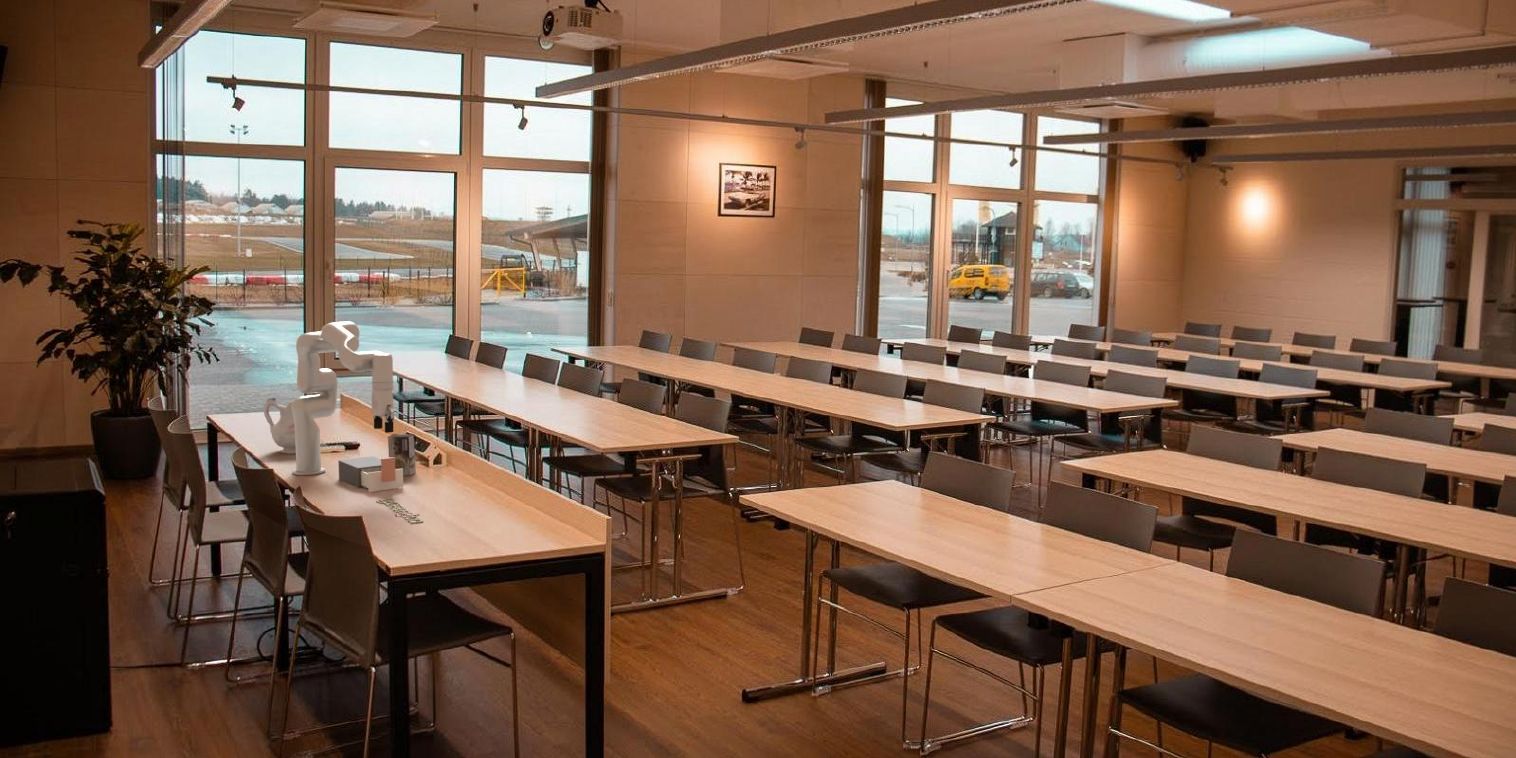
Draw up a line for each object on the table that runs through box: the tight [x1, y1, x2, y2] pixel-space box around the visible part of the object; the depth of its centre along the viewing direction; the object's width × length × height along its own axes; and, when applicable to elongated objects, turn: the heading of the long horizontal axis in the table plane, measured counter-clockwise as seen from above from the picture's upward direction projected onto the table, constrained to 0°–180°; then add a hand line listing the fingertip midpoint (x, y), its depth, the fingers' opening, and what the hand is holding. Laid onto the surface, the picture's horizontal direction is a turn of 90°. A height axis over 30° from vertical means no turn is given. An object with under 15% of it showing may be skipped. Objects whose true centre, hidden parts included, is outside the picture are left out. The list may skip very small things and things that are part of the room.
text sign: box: [375, 498, 425, 524], centre depth 428 cm, size 40×1×8 cm
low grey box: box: [337, 455, 382, 489], centre depth 475 cm, size 19×14×8 cm
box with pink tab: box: [360, 457, 404, 493], centre depth 466 cm, size 21×14×13 cm, turn 41°
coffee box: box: [387, 433, 417, 476], centre depth 490 cm, size 9×6×16 cm
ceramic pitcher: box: [263, 397, 296, 455], centre depth 534 cm, size 22×20×25 cm
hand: (383, 430), depth 457 cm, fingers open, 9 cm apart
